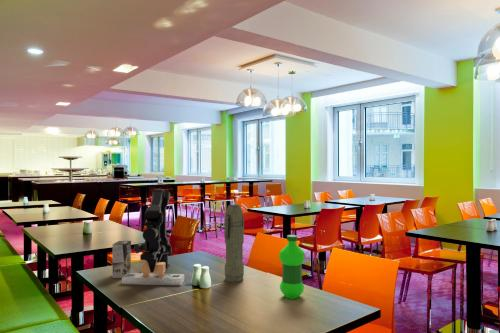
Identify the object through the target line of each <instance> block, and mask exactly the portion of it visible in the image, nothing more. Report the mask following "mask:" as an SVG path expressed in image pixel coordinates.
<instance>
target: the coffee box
mask: <svg viewBox="0 0 500 333" xmlns="http://www.w3.org/2000/svg"><path fill="white" fill-rule="evenodd" d="M111 267H112V268H111V269H112V270H111V271H112V276H111V277H112V278H113V279H122V277H123V276H124V275H125V274H127V273H132V241H131V240H118V241H117V242H114V243H113V244H112V266H111Z"/></svg>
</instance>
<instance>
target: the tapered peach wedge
mask: <svg viewBox="0 0 500 333" xmlns="http://www.w3.org/2000/svg"><path fill="white" fill-rule="evenodd" d="M140 266H141V267H140V269H141V270H140V271H141V273H143V277H148V276H149V273H154V274H158V277H164V274H165V272H167V271H166V270H167V268H166V262H157V263H156V266H155V269H154V271H153V272H151V271H150V268H149V265H148V262H147V261H143V263H141V265H140Z"/></svg>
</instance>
